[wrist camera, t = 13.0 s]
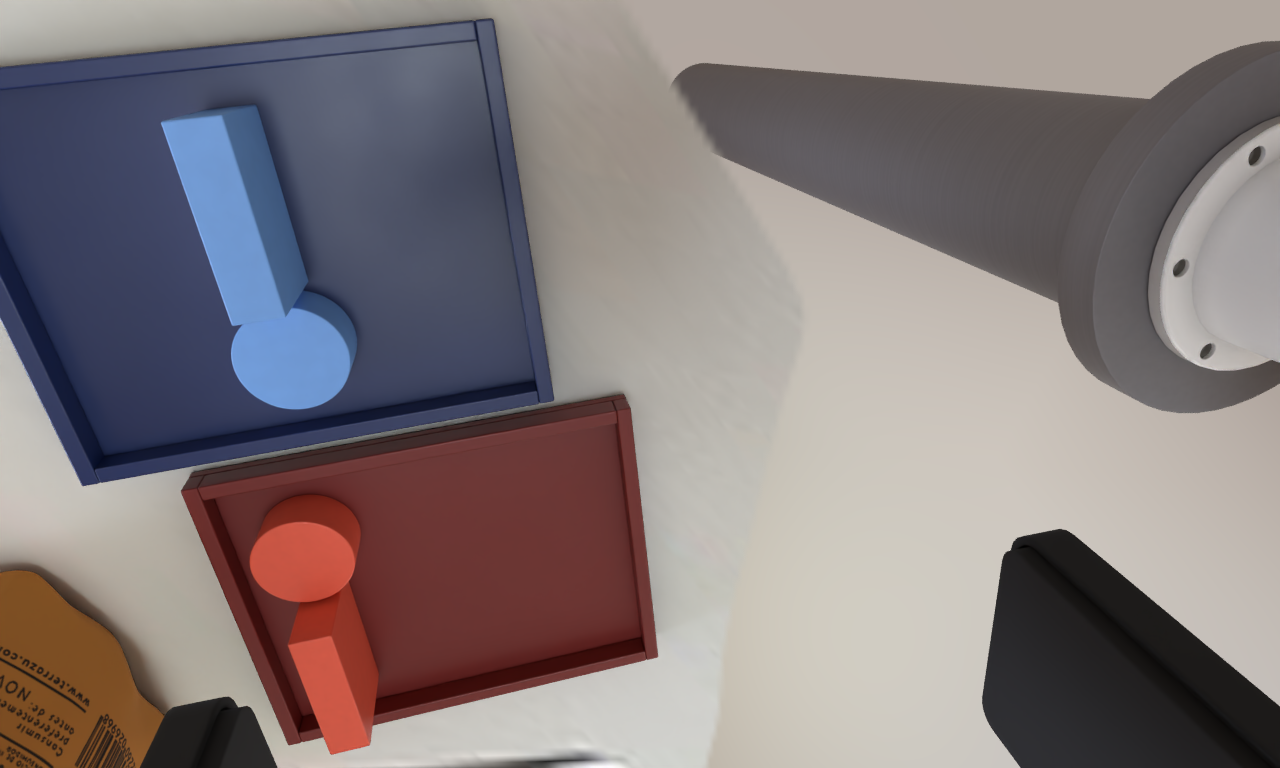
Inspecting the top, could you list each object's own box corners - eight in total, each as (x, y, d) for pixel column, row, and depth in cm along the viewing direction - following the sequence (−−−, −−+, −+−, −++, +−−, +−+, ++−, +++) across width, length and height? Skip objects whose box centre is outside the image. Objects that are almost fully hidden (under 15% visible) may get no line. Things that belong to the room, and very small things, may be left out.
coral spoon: (404, 667, 35) (397, 739, 31) (318, 687, 34) (301, 762, 31) (347, 485, 30) (333, 544, 27) (248, 504, 30) (220, 566, 26)
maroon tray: (624, 393, 32) (630, 408, 31) (651, 637, 38) (658, 657, 36) (191, 472, 29) (179, 491, 28) (294, 721, 35) (288, 746, 34)
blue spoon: (167, 113, 24) (115, 126, 20) (291, 100, 24) (263, 109, 21) (264, 395, 28) (235, 446, 25) (368, 377, 29) (356, 424, 25)
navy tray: (492, 19, 25) (493, 18, 24) (550, 387, 31) (554, 401, 30) (-87, 76, 22) (-119, 78, 21) (98, 467, 28) (81, 487, 27)
